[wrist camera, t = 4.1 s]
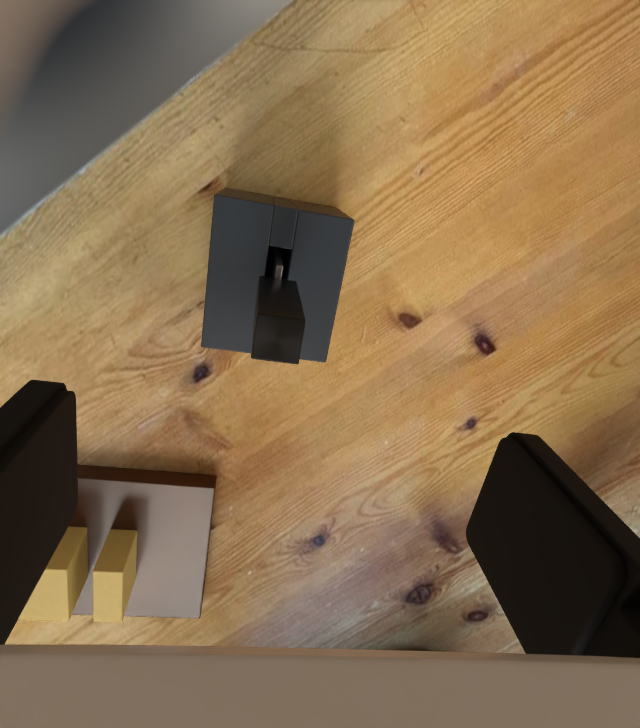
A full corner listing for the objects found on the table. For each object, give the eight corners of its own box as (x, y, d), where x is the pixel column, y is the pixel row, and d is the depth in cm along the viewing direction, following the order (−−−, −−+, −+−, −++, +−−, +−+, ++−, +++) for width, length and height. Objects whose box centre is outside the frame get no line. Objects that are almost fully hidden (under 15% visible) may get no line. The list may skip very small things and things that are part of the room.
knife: (256, 283, 30) (249, 373, 18) (262, 236, 29) (259, 297, 16) (283, 287, 31) (296, 379, 18) (290, 241, 29) (309, 304, 17)
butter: (5, 572, 36) (-24, 619, 32) (0, 521, 34) (-32, 565, 30) (88, 575, 37) (68, 621, 33) (87, 527, 35) (67, 570, 31)
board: (-48, 595, 38) (-59, 611, 37) (-72, 452, 33) (-87, 465, 31) (202, 603, 41) (200, 618, 40) (216, 475, 36) (215, 488, 35)
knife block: (212, 314, 31) (200, 347, 25) (224, 187, 28) (214, 194, 22) (315, 328, 32) (325, 363, 26) (338, 208, 29) (354, 219, 23)
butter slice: (109, 576, 37) (92, 622, 33) (110, 528, 35) (92, 571, 31) (135, 577, 37) (121, 623, 34) (137, 530, 35) (123, 572, 32)
